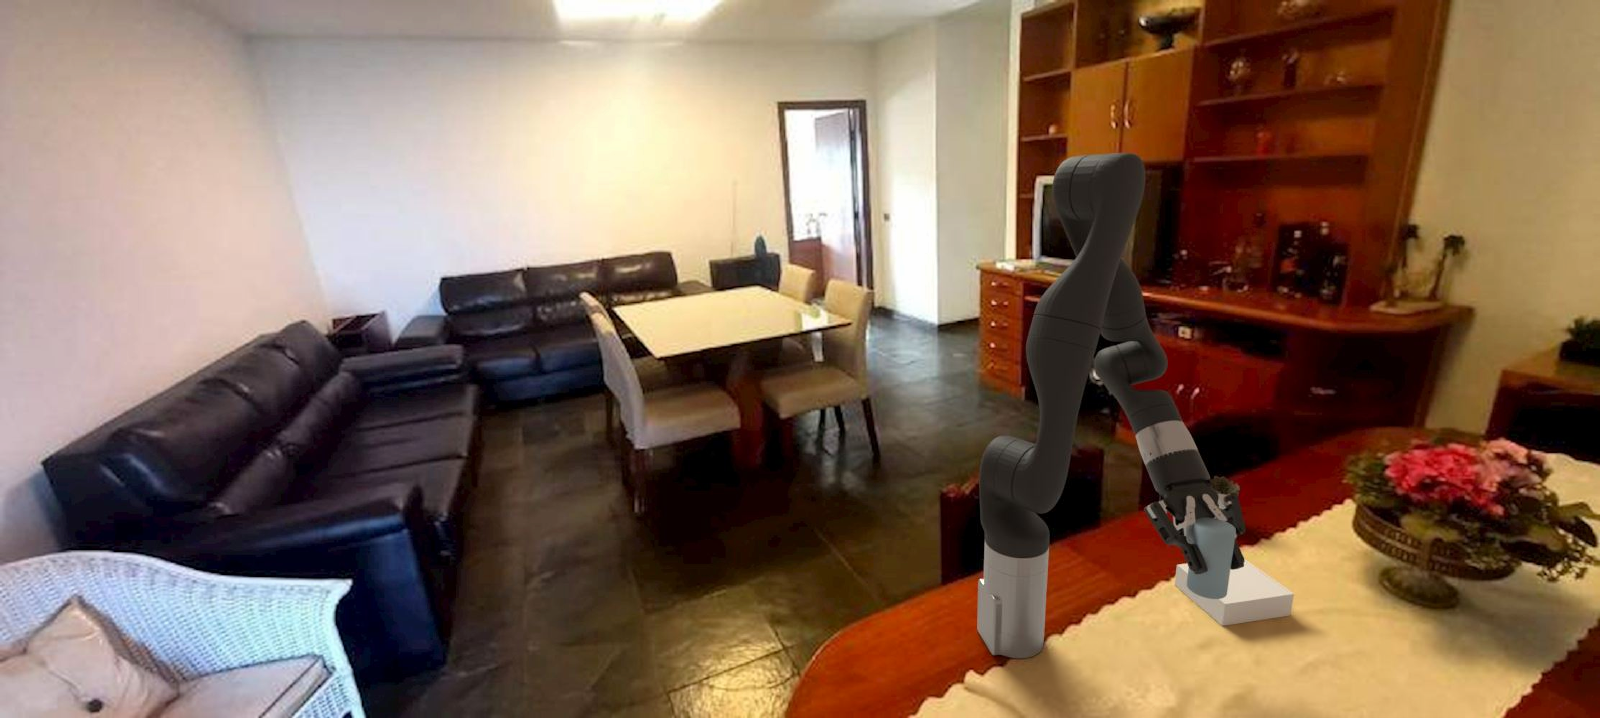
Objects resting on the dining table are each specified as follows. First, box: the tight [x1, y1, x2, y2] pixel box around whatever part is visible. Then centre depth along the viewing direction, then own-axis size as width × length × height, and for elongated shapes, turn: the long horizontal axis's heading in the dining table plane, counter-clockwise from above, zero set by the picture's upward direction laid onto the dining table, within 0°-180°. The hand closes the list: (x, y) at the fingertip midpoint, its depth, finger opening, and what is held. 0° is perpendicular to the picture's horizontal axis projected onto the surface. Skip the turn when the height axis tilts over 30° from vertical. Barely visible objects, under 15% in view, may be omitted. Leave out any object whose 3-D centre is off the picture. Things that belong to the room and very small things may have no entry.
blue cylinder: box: [1187, 517, 1236, 599], centre depth 94 cm, size 5×5×10 cm
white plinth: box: [1174, 558, 1295, 627], centre depth 110 cm, size 12×11×4 cm
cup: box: [1210, 475, 1241, 514], centre depth 134 cm, size 8×7×8 cm
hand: (1219, 570), depth 93 cm, fingers closed on blue cylinder, 5 cm apart
